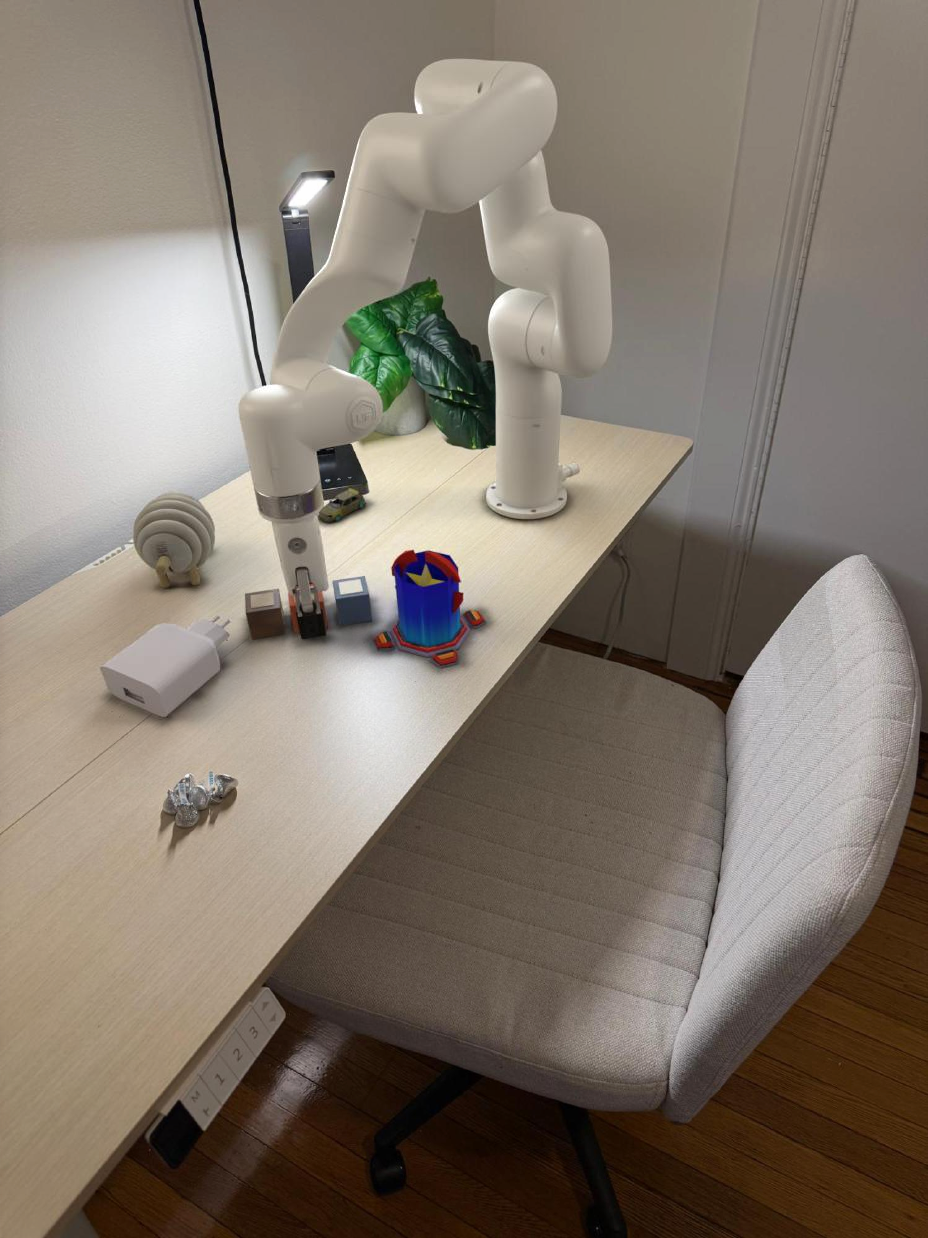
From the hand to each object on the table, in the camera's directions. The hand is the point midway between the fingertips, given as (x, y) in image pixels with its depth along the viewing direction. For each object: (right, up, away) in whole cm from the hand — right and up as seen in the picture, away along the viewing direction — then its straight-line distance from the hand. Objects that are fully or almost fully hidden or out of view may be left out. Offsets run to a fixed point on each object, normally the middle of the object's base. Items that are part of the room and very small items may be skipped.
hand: (311, 616), depth 105 cm
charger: (-14, -6, -7) cm, 17 cm away
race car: (+1, +16, +22) cm, 28 cm away
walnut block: (-5, -1, -1) cm, 6 cm away
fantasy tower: (+15, -2, -2) cm, 16 cm away
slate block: (+5, 0, +1) cm, 6 cm away
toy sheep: (-20, +6, +10) cm, 23 cm away
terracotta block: (0, 0, 0) cm, 1 cm away
